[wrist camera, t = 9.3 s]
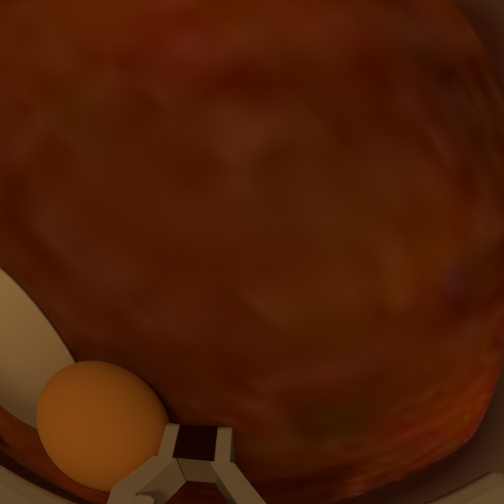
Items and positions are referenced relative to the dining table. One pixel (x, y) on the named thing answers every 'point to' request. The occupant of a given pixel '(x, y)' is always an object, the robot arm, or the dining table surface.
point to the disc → (26, 351)
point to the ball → (99, 422)
